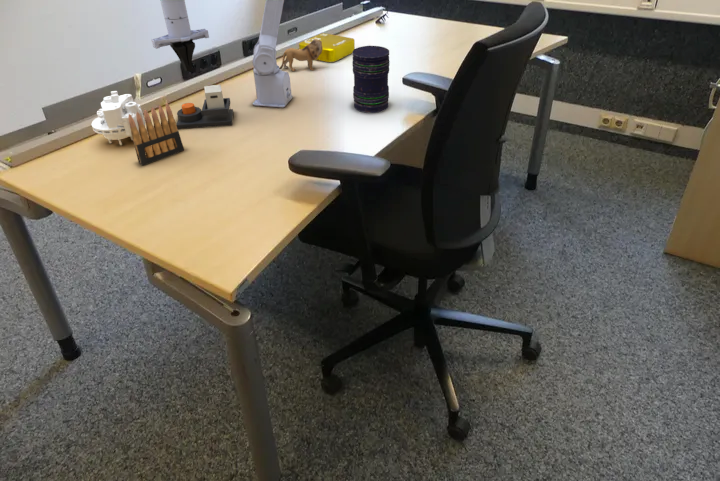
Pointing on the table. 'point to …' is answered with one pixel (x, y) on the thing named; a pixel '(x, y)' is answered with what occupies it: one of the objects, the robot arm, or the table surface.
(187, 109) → the power button
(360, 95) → the storage jar
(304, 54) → the lion figurine
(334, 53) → the element tile
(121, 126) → the mechanical part
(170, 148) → the ammunition clip
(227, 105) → the adapter socket
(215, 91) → the block
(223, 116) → the black docking base
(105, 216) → the table surface
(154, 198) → the table surface
